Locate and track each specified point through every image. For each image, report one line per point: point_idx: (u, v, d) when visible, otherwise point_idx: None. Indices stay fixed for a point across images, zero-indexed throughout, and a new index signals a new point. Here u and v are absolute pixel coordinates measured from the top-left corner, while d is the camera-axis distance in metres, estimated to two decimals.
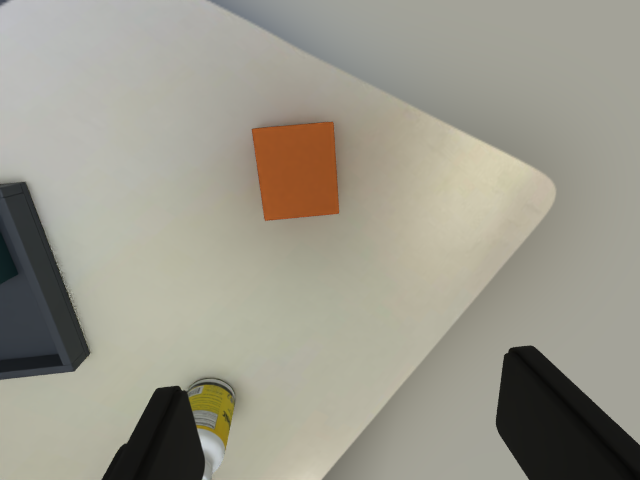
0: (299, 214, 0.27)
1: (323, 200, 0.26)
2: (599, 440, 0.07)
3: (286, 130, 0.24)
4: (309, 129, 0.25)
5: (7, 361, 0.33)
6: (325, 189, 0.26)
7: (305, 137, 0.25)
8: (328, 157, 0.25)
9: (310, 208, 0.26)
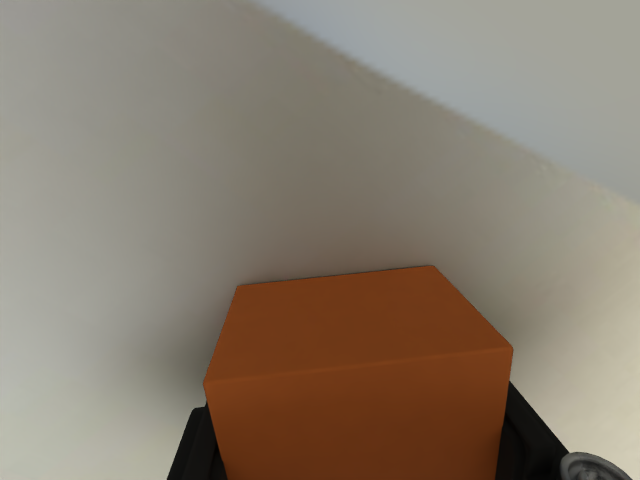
0: None
1: None
2: None
3: (336, 382, 0.06)
4: (424, 374, 0.06)
5: None
6: None
7: (405, 397, 0.07)
8: (476, 445, 0.07)
9: None
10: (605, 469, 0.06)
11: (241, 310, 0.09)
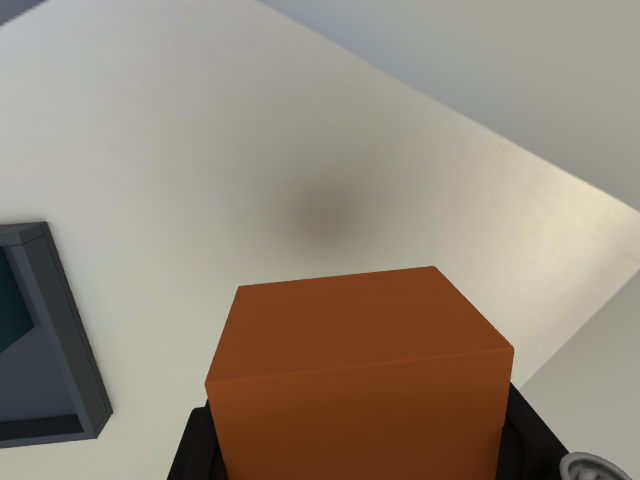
0: None
1: None
2: None
3: (338, 382, 0.06)
4: (425, 375, 0.06)
5: (17, 422, 0.28)
6: None
7: (407, 397, 0.07)
8: (477, 445, 0.07)
9: None
10: (605, 469, 0.06)
11: (242, 311, 0.09)
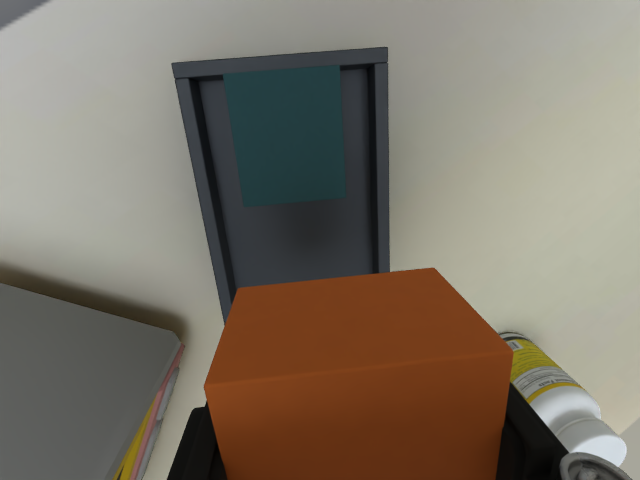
0: None
1: None
2: None
3: (337, 385, 0.06)
4: (424, 377, 0.06)
5: None
6: None
7: (406, 400, 0.07)
8: (476, 448, 0.07)
9: None
10: (605, 469, 0.06)
11: (242, 312, 0.09)
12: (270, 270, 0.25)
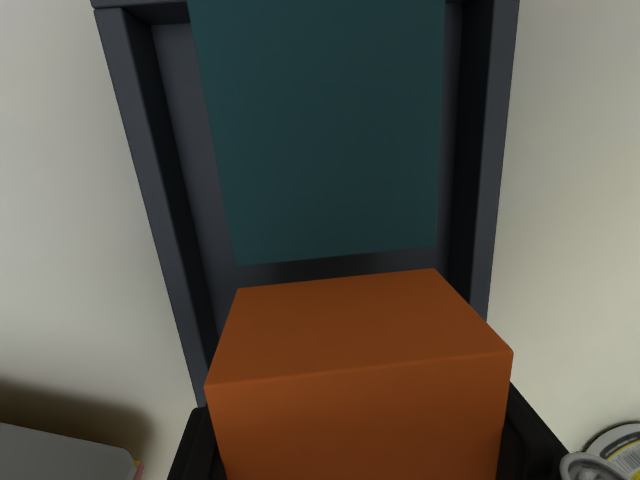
0: None
1: None
2: None
3: (336, 386, 0.06)
4: (424, 378, 0.06)
5: None
6: None
7: (406, 400, 0.07)
8: (476, 448, 0.07)
9: None
10: (605, 469, 0.06)
11: (241, 313, 0.09)
12: None
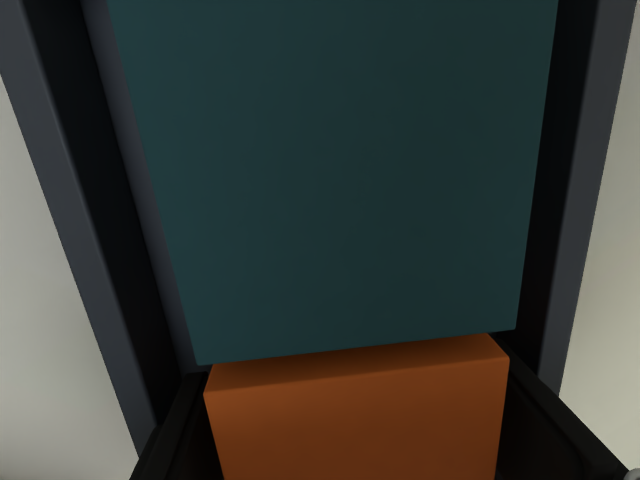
0: None
1: None
2: (550, 424, 0.07)
3: (334, 392, 0.06)
4: (421, 385, 0.07)
5: None
6: None
7: (403, 407, 0.07)
8: (473, 454, 0.07)
9: None
10: None
11: None
12: None
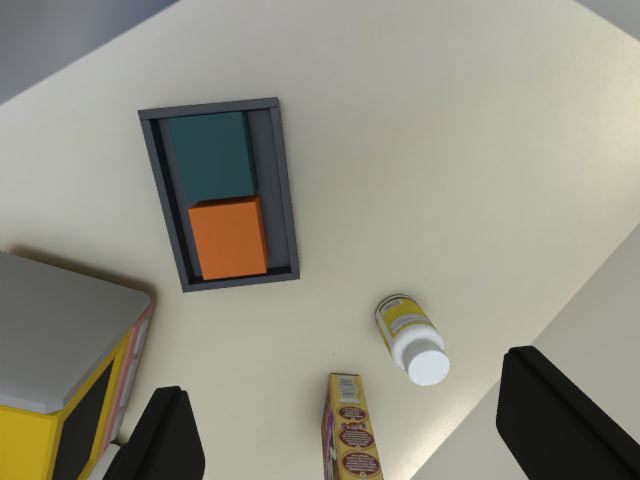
0: (232, 274, 0.32)
1: (252, 262, 0.32)
2: (599, 440, 0.07)
3: (216, 209, 0.30)
4: (235, 208, 0.30)
5: None
6: (253, 254, 0.31)
7: (232, 214, 0.30)
8: (252, 229, 0.31)
9: (241, 269, 0.32)
10: None
11: (199, 202, 0.32)
12: None
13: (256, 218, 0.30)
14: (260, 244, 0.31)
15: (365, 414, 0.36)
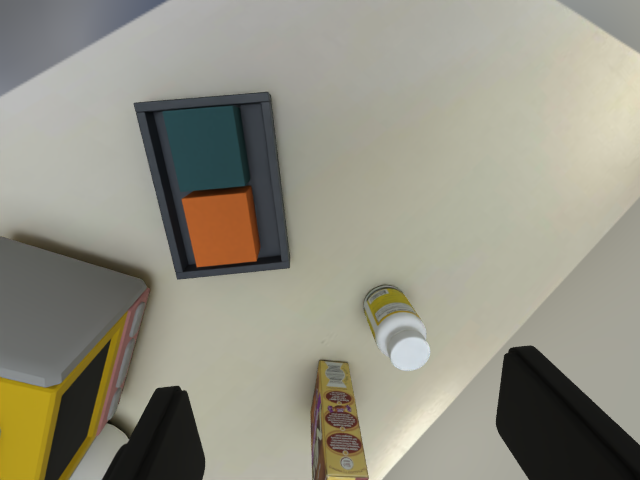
0: (224, 262, 0.33)
1: (243, 251, 0.33)
2: (599, 440, 0.07)
3: (209, 199, 0.31)
4: (227, 198, 0.31)
5: None
6: (244, 243, 0.33)
7: (224, 204, 0.31)
8: (243, 218, 0.32)
9: (232, 257, 0.33)
10: None
11: (192, 193, 0.33)
12: None
13: (247, 208, 0.32)
14: (251, 233, 0.33)
15: (351, 398, 0.38)
